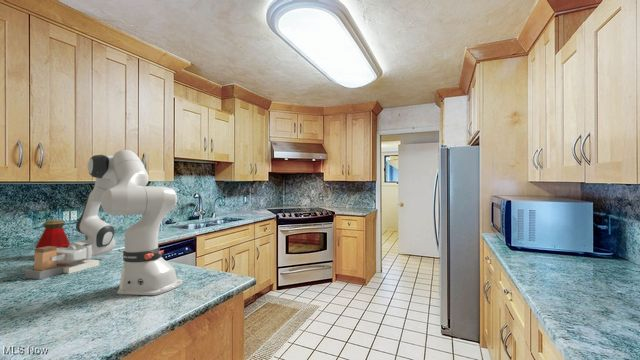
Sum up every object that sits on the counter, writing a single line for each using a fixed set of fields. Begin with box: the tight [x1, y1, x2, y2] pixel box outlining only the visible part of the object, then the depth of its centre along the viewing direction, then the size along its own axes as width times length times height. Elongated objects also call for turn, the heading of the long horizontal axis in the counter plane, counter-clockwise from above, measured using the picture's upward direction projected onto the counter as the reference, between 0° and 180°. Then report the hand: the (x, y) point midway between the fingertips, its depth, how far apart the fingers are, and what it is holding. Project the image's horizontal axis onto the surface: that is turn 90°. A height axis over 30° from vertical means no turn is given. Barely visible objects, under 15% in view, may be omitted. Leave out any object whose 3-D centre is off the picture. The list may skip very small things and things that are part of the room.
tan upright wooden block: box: [33, 246, 57, 271], centre depth 120 cm, size 5×5×12 cm
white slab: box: [24, 258, 100, 280], centre depth 127 cm, size 20×22×3 cm
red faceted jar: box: [34, 219, 71, 249], centre depth 151 cm, size 16×14×20 cm
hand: (43, 258), depth 120 cm, fingers open, 8 cm apart
